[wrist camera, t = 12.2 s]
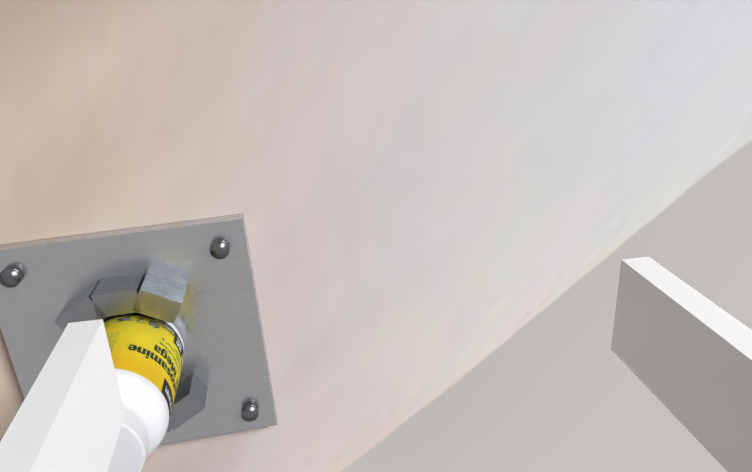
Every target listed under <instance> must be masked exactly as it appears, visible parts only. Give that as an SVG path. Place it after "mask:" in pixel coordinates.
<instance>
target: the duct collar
mask: <svg viewBox="0 0 752 472" xmlns="http://www.w3.org/2000/svg"><path fill="white" fill-rule="evenodd" d="M135 312H137V313H140V314H144V315H147V316H150V317H153V318H156V319H160V320H163V321H166V322H169V323H172V324H173V325H174V326H175V327H176V329H177V330H178V331H179V333H180V335H181V337H182V340H183V344H184V360H183V365H182V370H181V374H180V378H179V382H178V387H177V391H176V395H175V399H174V404H173V408H172V412H171V417H170V421H169V425H168V428H167V431H166V433H165V436H164V438H163V440H162V441H161V443H160V444H159V445H162V444H168V443H174V442H180V441H186V440H191V439H197V438H203V437H209V436H215V435H221V434H226V433H232V432H238V431H244V430H250V429H256V428H261V427H267V426H273V425H277V415H276V409H275V403H274V397H273V391H272V385H271V379H270V373H269V367H268V361H267V355H266V349H265V343H264V337H263V331H262V325H261V319H260V313H259V307H258V301H257V295H256V289H255V282H254V276H253V270H252V264H251V258H250V252H249V246H248V240H247V234H246V228H245V222H244V216H243V214H238V215H230V216H223V217H215V218H207V219H199V220H191V221H183V222H176V223H168V224H160V225H152V226H144V227H136V228H129V229H121V230H113V231H105V232H97V233H89V234H82V235H74V236H66V237H58V238H50V239H42V240H35V241H27V242H19V243H11V244H3V245H0V328H1V331H2V334H3V337H4V340H5V343H6V346H7V349H8V352H9V355H10V358H11V361H12V364H13V367H14V370H15V373H16V376H17V379H18V382H19V385H20V388H21V390H22V393H23V396H24V399H25V398H26V396H27V395H28V393H29V391H30V389H31V388H32V386H33V384H34V382H35V381H36V379H37V377H38V375H39V374H40V372H41V370H42V368H43V367H44V365H45V363H46V361H47V360H48V358H49V356H50V354H51V353H52V351H53V349H54V347H55V346H56V344H57V342H58V340H59V339H60V337H61V335H62V333H63V332H64V330H65V328H66V326H67V325H68V323H73V322H81V321H90V320H99V319H103V318H105V317H107V316H114V315H121V314H128V313H135Z"/></svg>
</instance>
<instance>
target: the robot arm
mask: <svg viewBox="0 0 752 472" xmlns="http://www.w3.org/2000/svg"><path fill="white" fill-rule="evenodd" d="M611 349H612V350H613V352H614V353H615V354H616V355H617V356H618V357H619V358H620V359H621V360H622V361H623V362H624V363H625V364H626V365H627V366H628V367H629V368H630V369H631V370H632V371H633V373H634V374H635V375H636V376H637V377H638V378H639V379H640V380H641V381H642V382H643V383H644V384H645V385H646V386H647V387H648V388H649V389H650V390H651V391H652V392H653V394H654V395H655V396H656V397H657V398H658V399H659V400H660V401H661V402H662V403H663V404H664V405H665V406H666V407H667V408H668V409H669V410H670V411H671V412H672V414H673V415H674V416H675V417H676V418H677V419H678V420H679V421H680V422H681V423H682V424H683V425H684V426H685V427H686V428H687V429H688V430H689V431H690V433H691V434H692V435H693V436H694V437H695V438H696V439H697V440H698V441H699V442H700V443H701V444H702V445H703V446H704V447H705V448H706V449H707V450H708V451H709V452H710V453H711V455H712V456H713V457H714V458H715V459H716V460H717V461H718V462H719V463H720V464H721V465H722V466H723V467H724V468H725V469H726V470H727V471H728V472H752V330H751V329H749V328H748V327H747V326H745V325H744V324H742V323H741V322H740V321H738V320H737V319H735V318H734V317H732V316H731V315H730V314H728V313H727V312H725V311H724V310H723V309H721V308H720V307H718V306H717V305H716V304H714V303H713V302H711V301H710V300H709V299H707V298H706V297H704V296H703V295H702V294H700V293H699V292H697V291H696V290H695V289H693V288H692V287H690V286H689V285H687V284H686V283H684V282H683V281H682V280H680V279H679V278H678V277H676V276H675V275H673V274H672V273H671V272H669V271H668V270H666V269H665V268H663V267H662V266H661V265H659V264H658V263H657V262H655V261H654V260H652V259H651V258H649V257H642V258H633V259H624V260H621V269H620V277H619V286H618V295H617V303H616V311H615V320H614V329H613V337H612V345H611ZM124 417H125V411H124V406H123V402H122V398H121V394H120V390H119V385H118V381H117V377H116V373H115V369H114V364H113V360H112V356H111V352H110V348H109V343H108V339H107V335H106V331H105V327H104V322H103V319H99V320H90V321H81V322H73V323H68V325H67V326H66V328H65V330H64V332H63V333H62V335H61V337H60V339H59V340H58V342H57V344H56V346H55V347H54V349H53V351H52V353H51V354H50V356H49V358H48V360H47V361H46V363H45V365H44V367H43V368H42V370H41V372H40V374H39V375H38V377H37V379H36V381H35V382H34V384H33V386H32V388H31V389H30V391H29V393H28V395H27V396H26V398H25V400H24V402H23V403H22V405H21V407H20V409H19V410H18V412H17V414H16V416H15V417H14V419H13V421H12V423H11V424H10V426H9V428H8V430H7V431H6V433H5V435H4V437H3V438H2V440H1V442H0V472H107V471H108V467H109V464H110V461H111V458H112V455H113V452H114V449H115V446H116V442H117V439H118V436H119V433H120V430H121V427H122V424H123V420H124Z"/></svg>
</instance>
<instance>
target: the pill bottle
mask: <svg viewBox="0 0 752 472" xmlns="http://www.w3.org/2000/svg"><path fill="white" fill-rule="evenodd" d="M103 322H104V327H105V331H106V335H107V339H108V343H109V348H110V352H111V356H112V360H113V364H114V369H115V373H116V377H117V381H118V385H119V390H120V394H121V398H122V402H123V406H124V411H125V417H124V420H123V424H122V427H121V430H120V433H119V436H118V439H117V442H116V446H115V449H114V452H113V455H112V458H111V461H110V464H109V467H108V471H107V472H141V470H142V468H143V466H144V463H145V460H146V457H147V456H148V455H150V454H151V453H152V452H153V451H154V450H155V449H156V448H157V447H158V445H159V444H160V443H161V441H162V440H163V438H164V436H165V433H166V431H167V428H168V425H169V421H170V417H171V412H172V408H173V404H174V399H175V395H176V391H177V387H178V382H179V378H180V374H181V370H182V365H183V360H184V344H183V340H182V337H181V335H180V333H179V331H178V330H177V329H176V327H175V326H174V325H173V324H172V323H169V322H166V321H163V320H160V319H156V318H153V317H150V316H147V315H144V314H140V313H137V312H135V313H128V314H121V315H114V316H107V317H105V318H103Z"/></svg>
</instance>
